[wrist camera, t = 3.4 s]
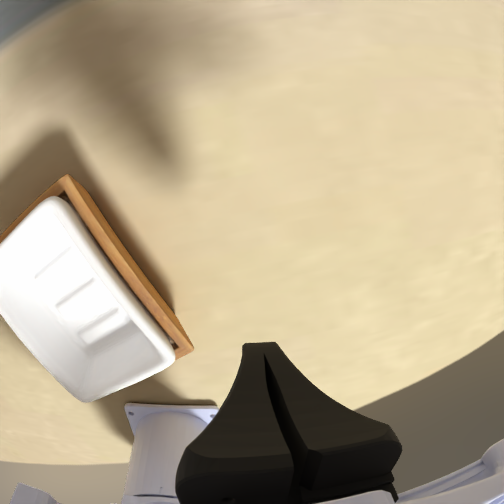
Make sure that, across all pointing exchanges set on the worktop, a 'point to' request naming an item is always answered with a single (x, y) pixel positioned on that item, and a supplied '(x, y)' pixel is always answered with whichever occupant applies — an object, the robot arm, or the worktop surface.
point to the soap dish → (83, 297)
